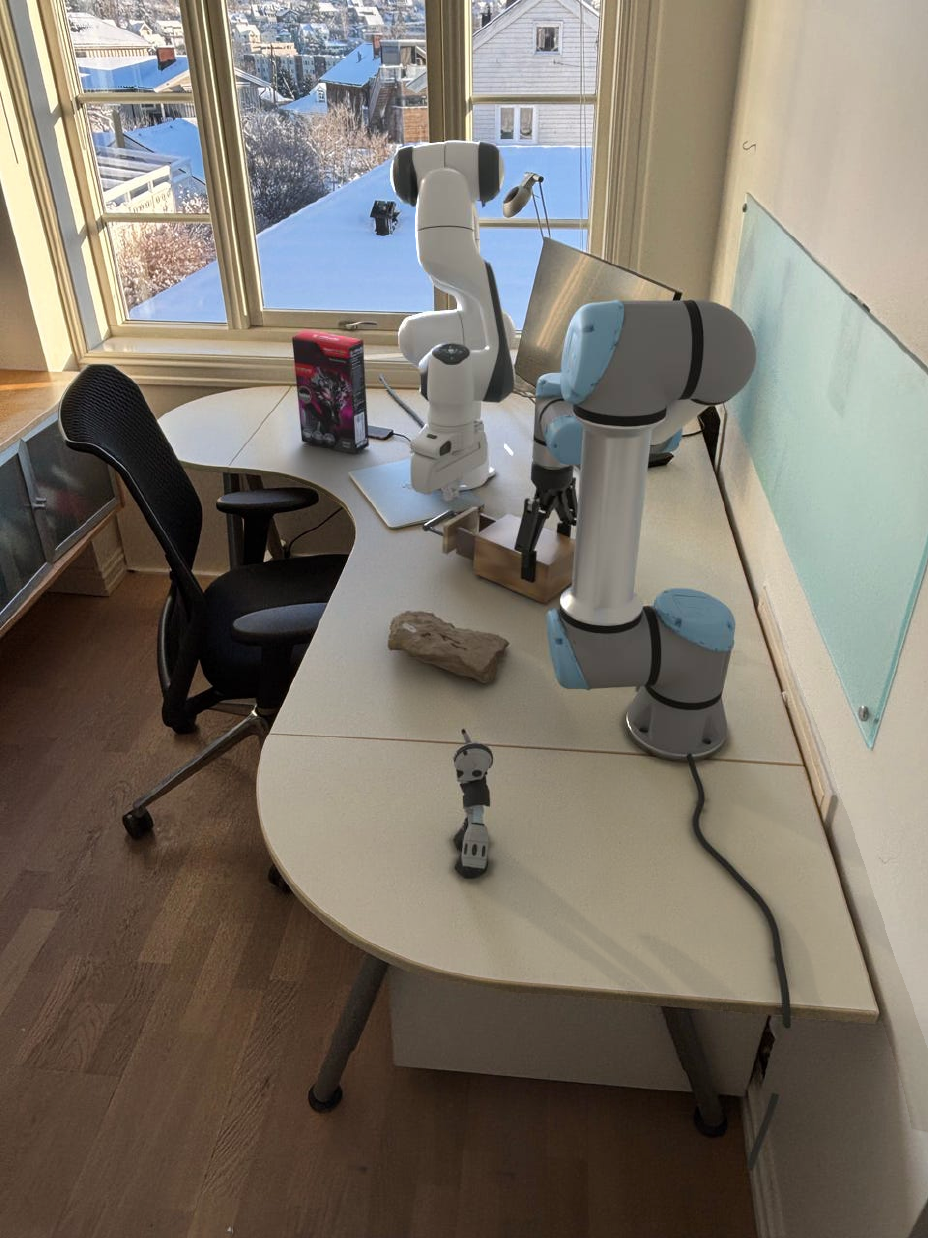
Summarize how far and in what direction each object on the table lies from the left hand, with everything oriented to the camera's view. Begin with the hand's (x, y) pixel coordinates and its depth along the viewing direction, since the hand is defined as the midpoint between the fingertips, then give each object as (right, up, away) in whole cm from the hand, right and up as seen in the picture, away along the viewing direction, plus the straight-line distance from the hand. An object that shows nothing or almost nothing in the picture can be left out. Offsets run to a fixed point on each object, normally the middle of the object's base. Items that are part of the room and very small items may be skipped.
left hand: (450, 498), depth 183 cm
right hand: (+18, -14, -7) cm, 24 cm away
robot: (+4, -55, -61) cm, 83 cm away
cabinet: (+14, -16, -3) cm, 21 cm away
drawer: (+5, -10, +2) cm, 12 cm away
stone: (-1, -31, -25) cm, 40 cm away
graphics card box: (-30, +20, +50) cm, 62 cm away
